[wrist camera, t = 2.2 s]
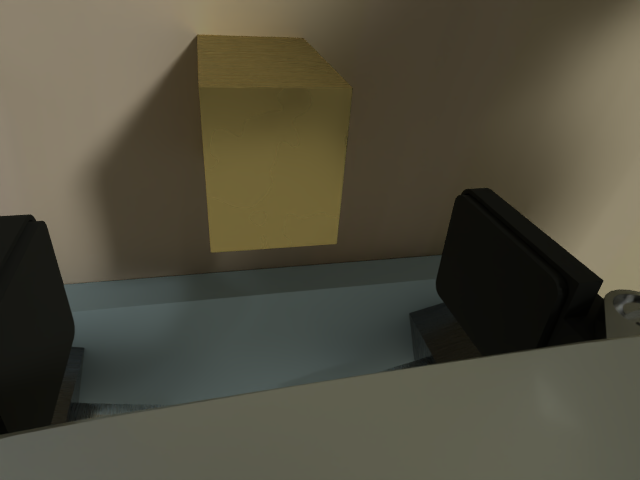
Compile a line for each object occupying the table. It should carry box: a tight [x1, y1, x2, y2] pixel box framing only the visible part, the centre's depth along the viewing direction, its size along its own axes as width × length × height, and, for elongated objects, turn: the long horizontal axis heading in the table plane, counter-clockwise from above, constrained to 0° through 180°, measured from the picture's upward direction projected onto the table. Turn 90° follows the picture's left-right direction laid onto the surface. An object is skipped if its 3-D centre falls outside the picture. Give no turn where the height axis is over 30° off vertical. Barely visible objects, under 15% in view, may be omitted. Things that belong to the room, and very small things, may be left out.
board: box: [64, 255, 444, 405], centre depth 26 cm, size 24×11×2 cm, turn 86°
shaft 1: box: [51, 347, 169, 425], centre depth 21 cm, size 8×4×5 cm, turn 71°
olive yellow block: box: [197, 35, 353, 253], centre depth 16 cm, size 5×4×7 cm
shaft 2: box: [377, 303, 483, 373], centre depth 24 cm, size 8×4×5 cm, turn 101°
